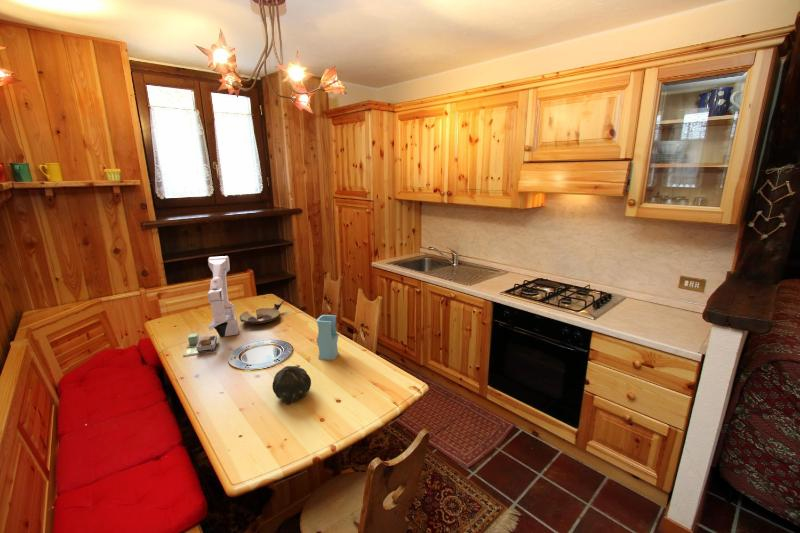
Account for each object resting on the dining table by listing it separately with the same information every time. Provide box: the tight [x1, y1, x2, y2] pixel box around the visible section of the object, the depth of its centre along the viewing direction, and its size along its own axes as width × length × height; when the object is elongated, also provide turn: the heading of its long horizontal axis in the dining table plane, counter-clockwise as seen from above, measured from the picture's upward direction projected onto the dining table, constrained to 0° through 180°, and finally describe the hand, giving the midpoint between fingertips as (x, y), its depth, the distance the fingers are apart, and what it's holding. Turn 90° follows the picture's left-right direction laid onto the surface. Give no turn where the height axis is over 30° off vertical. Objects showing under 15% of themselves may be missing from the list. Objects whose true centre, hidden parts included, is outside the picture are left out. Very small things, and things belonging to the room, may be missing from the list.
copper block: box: [200, 335, 211, 346], centre depth 185 cm, size 4×4×4 cm
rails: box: [182, 341, 220, 358], centre depth 188 cm, size 15×10×1 cm
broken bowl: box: [239, 299, 284, 325], centre depth 222 cm, size 22×30×8 cm
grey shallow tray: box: [195, 335, 218, 353], centre depth 188 cm, size 8×11×4 cm
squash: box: [271, 365, 312, 404], centre depth 147 cm, size 14×15×15 cm
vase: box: [316, 314, 339, 361], centre depth 177 cm, size 8×8×20 cm
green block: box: [187, 332, 200, 346], centre depth 195 cm, size 4×4×4 cm
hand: (222, 336), depth 190 cm, fingers closed
